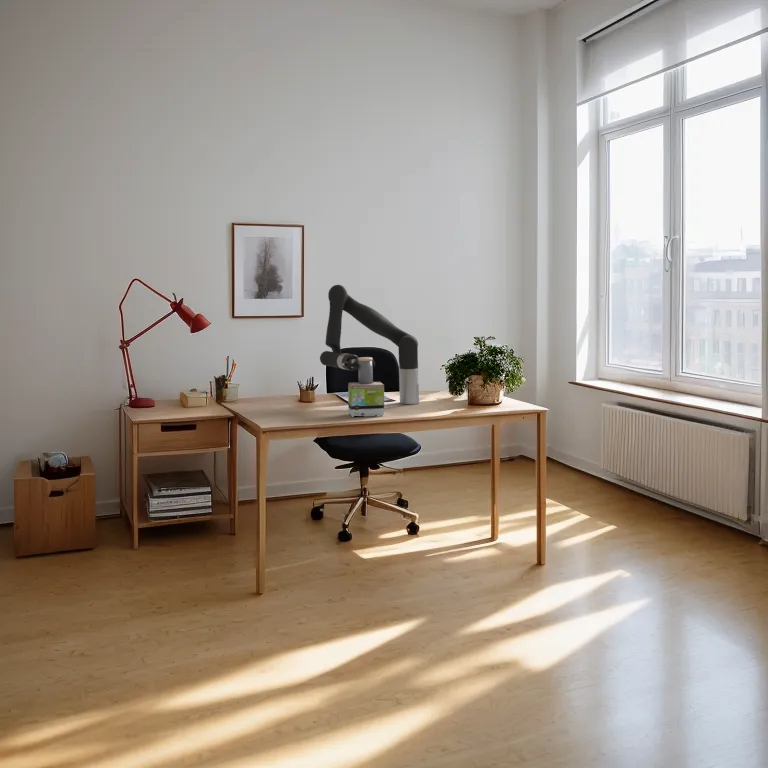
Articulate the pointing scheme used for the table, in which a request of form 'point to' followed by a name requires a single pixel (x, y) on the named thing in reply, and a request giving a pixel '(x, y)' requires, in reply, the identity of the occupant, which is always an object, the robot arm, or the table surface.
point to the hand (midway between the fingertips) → (366, 365)
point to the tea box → (365, 399)
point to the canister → (365, 370)
